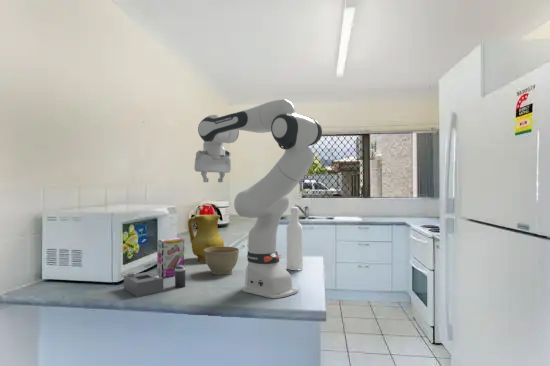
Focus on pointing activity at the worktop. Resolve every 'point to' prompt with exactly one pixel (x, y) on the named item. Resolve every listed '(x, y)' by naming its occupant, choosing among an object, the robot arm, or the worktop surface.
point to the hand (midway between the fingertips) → (213, 182)
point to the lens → (179, 276)
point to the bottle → (294, 242)
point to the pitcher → (204, 234)
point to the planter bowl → (221, 259)
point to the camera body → (143, 283)
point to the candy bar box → (169, 256)
